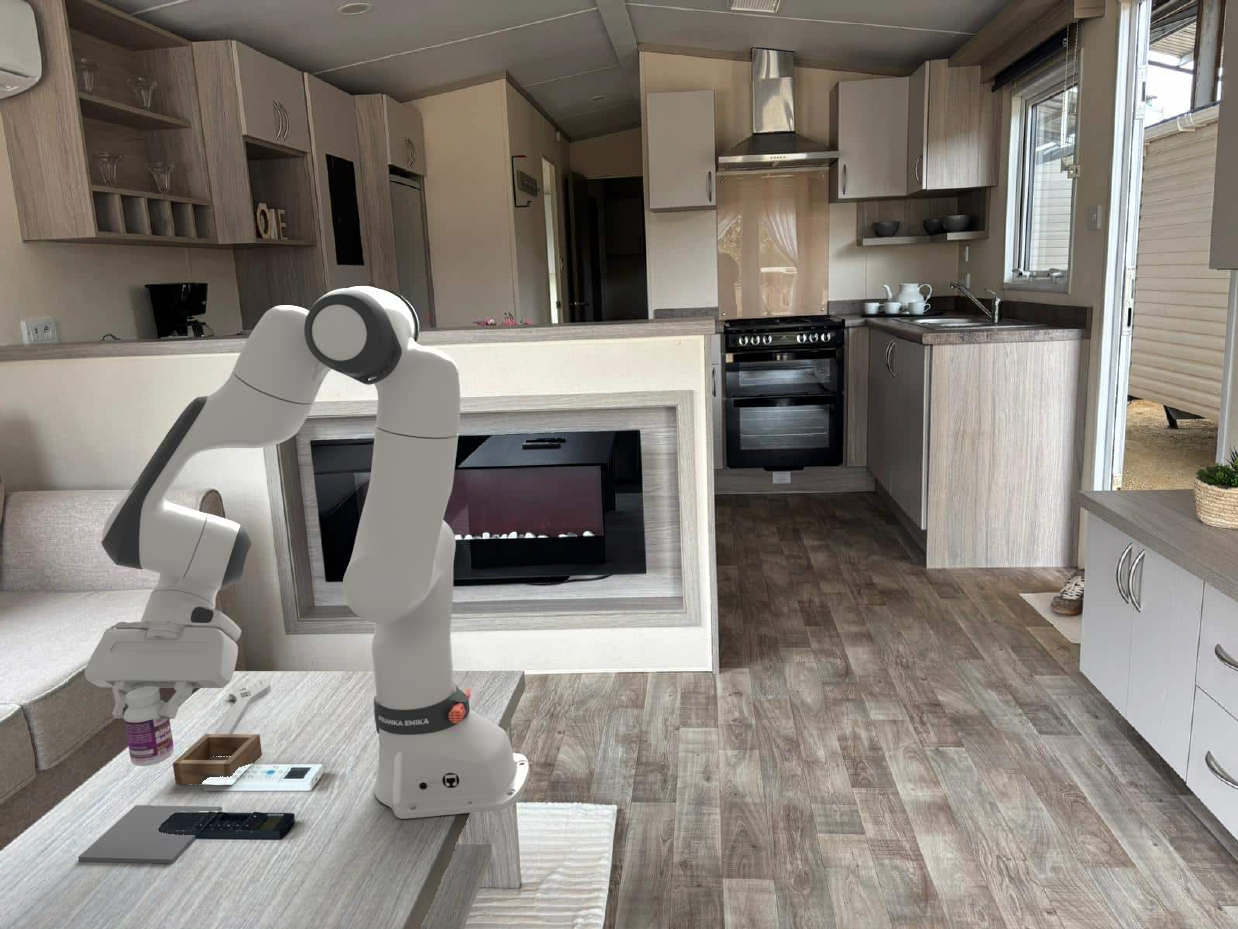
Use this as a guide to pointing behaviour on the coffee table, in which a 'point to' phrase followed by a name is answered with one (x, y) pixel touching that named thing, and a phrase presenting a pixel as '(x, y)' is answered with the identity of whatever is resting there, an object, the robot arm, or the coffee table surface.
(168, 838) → the charcoal mat
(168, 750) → the pill bottle
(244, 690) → the adjustable wrench
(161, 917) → the coffee table surface
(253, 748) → the walnut collar
